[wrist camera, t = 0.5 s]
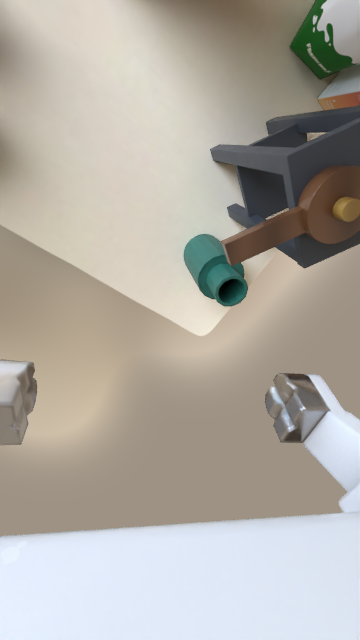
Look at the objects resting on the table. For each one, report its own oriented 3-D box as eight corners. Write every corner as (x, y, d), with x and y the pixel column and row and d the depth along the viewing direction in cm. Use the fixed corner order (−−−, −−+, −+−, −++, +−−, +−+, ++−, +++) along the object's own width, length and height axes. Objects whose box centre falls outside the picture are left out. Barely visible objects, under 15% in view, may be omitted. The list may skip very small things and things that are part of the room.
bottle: (186, 232, 54) (211, 265, 40) (225, 236, 56) (262, 268, 42) (181, 271, 58) (202, 313, 44) (217, 273, 60) (248, 314, 46)
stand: (229, 217, 54) (304, 268, 33) (209, 148, 48) (287, 155, 26) (288, 189, 54) (405, 223, 32) (276, 116, 47) (414, 95, 25)
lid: (233, 280, 32) (245, 293, 29) (214, 220, 28) (225, 229, 25) (362, 221, 31) (387, 229, 28) (361, 151, 27) (390, 152, 24)
